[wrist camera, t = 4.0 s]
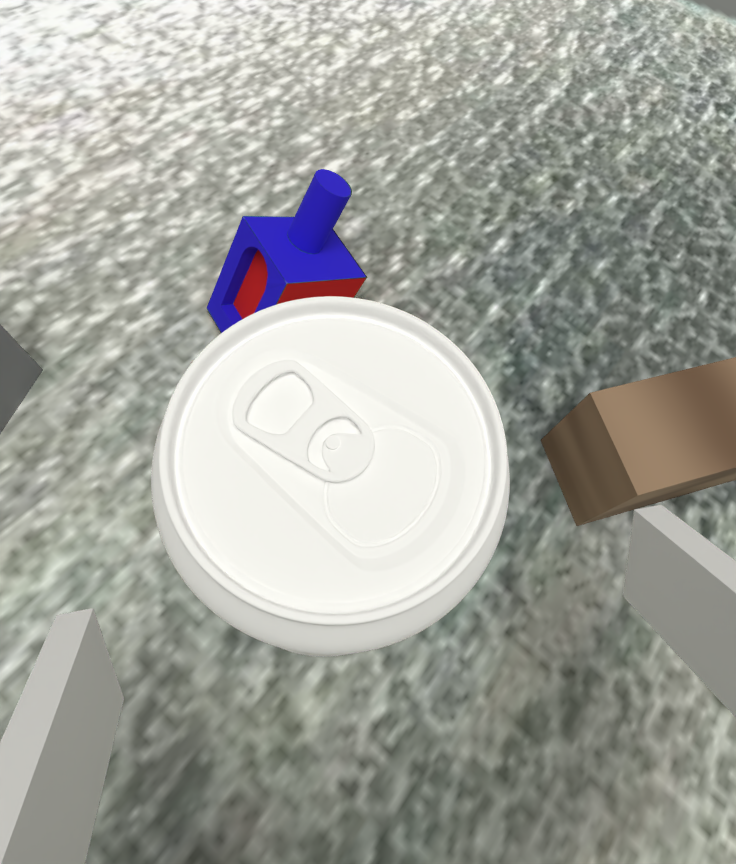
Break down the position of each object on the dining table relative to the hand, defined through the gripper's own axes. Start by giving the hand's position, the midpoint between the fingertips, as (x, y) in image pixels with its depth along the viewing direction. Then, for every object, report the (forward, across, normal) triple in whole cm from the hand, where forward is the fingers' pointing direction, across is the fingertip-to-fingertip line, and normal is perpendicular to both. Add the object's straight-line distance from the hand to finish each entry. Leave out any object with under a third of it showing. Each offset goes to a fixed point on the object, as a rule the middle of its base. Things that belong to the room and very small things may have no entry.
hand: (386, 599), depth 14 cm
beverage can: (+8, -1, -4) cm, 9 cm away
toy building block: (+16, -1, +4) cm, 17 cm away
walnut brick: (+9, +14, -3) cm, 17 cm away
